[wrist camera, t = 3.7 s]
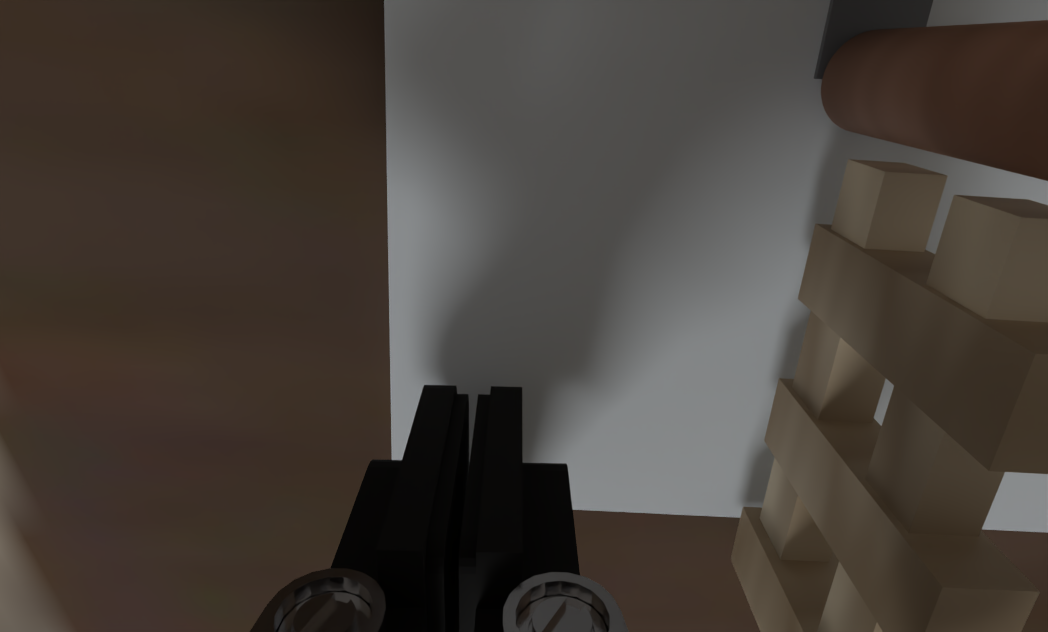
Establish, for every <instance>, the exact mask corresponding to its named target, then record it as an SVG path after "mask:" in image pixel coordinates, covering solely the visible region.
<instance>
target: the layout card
mask: <svg viewBox="0 0 1048 632" xmlns="http://www.w3.org/2000/svg"><path fill="white" fill-rule="evenodd" d="M1040 20H1048V0H384V26H385V85H386V144H387V204H388V263H389V322H390V381H391V440H392V460H402V458H403V455H404V451H405V448H406V444H407V441H408V438H409V434H410V431H411V427H412V424H413V420H414V417H415V413H416V410H417V407H418V403H419V400H420V396H421V393H422V389H423V386H424V385H456V387H457V394H468V395H469V463H470V455H471V447H472V439H473V431H474V423H475V415H476V407H477V399H478V394H488V395H490V390H491V386H503V387H522V456H523V463H566V464H567V467H568V474H569V483H570V492H571V501H572V509H573V510H594V511H615V512H635V513H656V514H677V515H697V516H718V517H739V518H740V517H741V513H742V508H743V507H760V508H762V506H763V502H764V498H765V494H766V490H767V486H768V482H769V478H770V474H771V470H772V466H773V462H774V458H775V457H774V456H773V454H772V452H771V451H770V449H769V448H768V446H767V444H766V443H765V441H764V439H765V435H766V430H767V426H768V422H769V418H770V413H771V409H772V405H773V401H774V396H775V392H776V388H777V384H778V380H779V378H784V379H794V376H795V372H796V368H797V364H798V360H799V356H800V352H801V348H802V344H803V340H804V336H805V332H806V328H807V324H808V320H809V316H810V312H811V310H810V309H809V308H807V307H806V306H805V305H804V304H803V303H802V302H801V301H800V300H799V299H798V295H799V291H800V287H801V282H802V278H803V274H804V270H805V265H806V261H807V257H808V253H809V248H810V244H811V240H812V236H813V232H814V227H815V224H830V225H832V222H833V218H834V214H835V210H836V206H837V202H838V198H839V194H840V190H841V186H842V182H843V178H844V174H845V170H846V165H847V161H848V159H853V160H868V161H884V162H900V163H907V164H910V165H914V166H917V167H920V168H924V169H927V170H931V171H934V172H937V173H941V174H944V175H947V176H948V177H947V180H946V183H945V187H944V190H943V193H942V196H941V200H940V203H939V206H938V209H937V213H936V216H935V219H934V222H933V226H932V229H931V232H930V236H929V239H928V242H927V245H926V249H925V250H927V251H929V252H931V253H933V254H936V250H937V247H938V244H939V241H940V238H941V234H942V231H943V228H944V225H945V222H946V219H947V215H948V212H949V209H950V206H951V203H952V199H953V196H954V195H966V196H982V197H998V198H1014V199H1029V200H1032V201H1035V202H1039V203H1042V204H1045V205H1048V181H1045V180H1041V179H1037V178H1033V177H1029V176H1025V175H1021V174H1017V173H1013V172H1009V171H1005V170H1001V169H997V168H993V167H989V166H985V165H981V164H977V163H973V162H969V161H965V160H961V159H957V158H953V157H949V156H945V155H941V154H937V153H933V152H929V151H925V150H921V149H917V148H913V147H909V146H905V145H901V144H897V143H893V142H889V141H885V140H881V139H877V138H873V137H869V136H865V135H861V134H857V133H853V132H850V131H846V130H844V129H842V128H840V127H839V126H837V125H836V124H835V123H833V122H832V121H831V119H830V118H829V117H828V115H827V114H826V112H825V110H824V107H823V104H822V99H821V84H822V78H823V75H824V72H825V69H826V67H827V65H828V63H829V61H830V59H831V58H832V57H833V55H834V54H835V53H836V51H837V50H838V49H839V48H840V47H841V46H842V45H843V44H844V43H846V42H847V41H848V40H850V39H851V38H853V37H855V36H856V35H859V34H861V33H863V32H867V31H870V30H878V29H896V28H914V27H932V26H950V25H968V24H986V23H1004V22H1022V21H1040ZM893 388H894V385H893V384H892V383H891V382H889V381H888V380H887V379H885V382H884V386H883V389H882V392H881V396H880V399H879V402H878V405H877V409H876V412H875V415H874V419H875V420H876V421H877V422H878V423H879V424H880V425H881V426H882V423H883V420H884V416H885V413H886V410H887V407H888V404H889V401H890V397H891V394H892V391H893ZM982 529H988V530H1008V531H1029V532H1048V474H1035V473H1015V472H1005V473H1004V476H1003V478H1002V481H1001V483H1000V486H999V488H998V491H997V493H996V495H995V498H994V500H993V503H992V505H991V508H990V510H989V513H988V515H987V517H986V520H985V522H984V525H983V527H982Z"/></svg>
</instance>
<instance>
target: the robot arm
mask: <svg viewBox="0 0 1048 632" xmlns="http://www.w3.org/2000/svg"><path fill="white" fill-rule="evenodd" d="M250 632H628V629H627V627H626V624H625V621H624V618H623V616H622V613H621V610H620V608H619V607H618V605H617V603H616V601H615V600H614V598H613V596H612V595H611V594H609V593H608V592H607V591H606V590H605V589H604V588H603V587H602V586H601V585H599V584H598V583H596V582H594V581H592V580H590V579H588V578H586V577H584V576H580V573H579V564H578V555H577V546H576V537H575V528H574V519H573V510H572V501H571V492H570V483H569V474H568V467H567V464H566V463H523V456H522V387H503V386H491V390H490V395H488V394H478V399H477V407H476V415H475V423H474V431H473V439H472V447H471V455H470V463H469V395H468V394H457V387H456V385H424V386H423V389H422V393H421V396H420V400H419V403H418V407H417V410H416V413H415V417H414V420H413V424H412V427H411V431H410V434H409V438H408V441H407V444H406V448H405V451H404V455H403V458H402V460H372V461H371V462H370V464H369V466H368V468H367V471H366V473H365V476H364V479H363V481H362V484H361V487H360V490H359V492H358V495H357V498H356V501H355V503H354V506H353V509H352V511H351V514H350V517H349V520H348V522H347V525H346V528H345V531H344V533H343V536H342V539H341V541H340V544H339V547H338V550H337V552H336V555H335V558H334V560H333V563H332V566H331V568H330V569H325V570H320V571H315V572H311V573H309V574H307V575H304V576H302V577H300V578H298V579H295V580H294V581H292V582H291V583H289V584H288V585H287V586H285V587H284V588H282V589H281V590H280V591H279V592H278V593H277V594H276V595H275V596H274V597H273V599H272V600H271V601H270V602H269V603H268V604H267V606H266V607H265V609H264V610H263V612H262V613H261V615H260V617H259V618H258V620H257V621H256V623H255V624H254V626H253V627H252V629H251V630H250Z"/></svg>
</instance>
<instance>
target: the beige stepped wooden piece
mask: <svg viewBox="0 0 1048 632" xmlns="http://www.w3.org/2000/svg"><path fill="white" fill-rule="evenodd" d="M821 99H822V104H823V107H824V110H825V112H826V114H827V115H828V117H829V118H830V119H831V121H832V122H833V123H835V124H836V125H837V126H839V127H840V128H842V129H844V130H846V131H850V132H853V133H857V134H861V135H865V136H869V137H873V138H877V139H881V140H885V141H889V142H893V143H897V144H901V145H905V146H909V147H913V148H917V149H921V150H925V151H929V152H933V153H937V154H941V155H945V156H949V157H953V158H957V159H961V160H965V161H969V162H973V163H977V164H981V165H985V166H989V167H993V168H997V169H1001V170H1005V171H1009V172H1013V173H1017V174H1021V175H1025V176H1029V177H1033V178H1037V179H1041V180H1045V181H1048V20H1040V21H1022V22H1004V23H986V24H968V25H950V26H932V27H914V28H896V29H878V30H870V31H867V32H863V33H861V34H859V35H856V36H855V37H853V38H851V39H850V40H848V41H847V42H846V43H844V44H843V45H842V46H841V47H840V48H839V49H838V50H837V51H836V53H835V54H834V55H833V57H832V58H831V59H830V61H829V63H828V65H827V67H826V69H825V72H824V75H823V78H822V84H821ZM947 177H948V176H947V175H944V174H941V173H937V172H934V171H931V170H927V169H924V168H920V167H917V166H914V165H910V164H907V163H900V162H884V161H868V160H853V159H848V161H847V165H846V170H845V174H844V178H843V182H842V186H841V190H840V194H839V198H838V202H837V206H836V210H835V214H834V218H833V222H832V225H830V224H815V227H814V232H813V236H812V240H811V244H810V248H809V253H808V257H807V261H806V265H805V270H804V274H803V278H802V282H801V287H800V291H799V295H798V299H799V300H800V301H801V302H802V303H803V304H804V305H805V306H806V307H807V308H809V309H810V310H811V312H810V316H809V320H808V324H807V328H806V332H805V336H804V340H803V344H802V348H801V352H800V356H799V360H798V364H797V368H796V372H795V376H794V379H784V378H779V380H778V384H777V388H776V392H775V396H774V401H773V405H772V409H771V413H770V418H769V422H768V426H767V430H766V435H765V439H764V441H765V443H766V444H767V446H768V448H769V449H770V451H771V452H772V454H773V456H774V457H775V458H774V462H773V466H772V470H771V474H770V478H769V482H768V486H767V490H766V494H765V498H764V502H763V506H762V508H760V507H743V508H742V513H741V517H740V521H739V525H738V530H737V534H736V538H735V543H734V547H733V551H732V556H731V561H732V563H733V566H734V568H735V571H736V573H737V576H738V578H739V580H740V583H741V585H742V588H743V590H744V593H745V595H746V597H747V600H748V602H749V605H750V607H751V610H752V612H753V614H754V617H755V619H756V622H757V624H758V627H759V629H760V632H1021V631H1022V629H1023V627H1024V624H1025V622H1026V620H1027V618H1028V616H1029V614H1030V612H1031V610H1032V608H1033V605H1034V603H1035V601H1036V599H1037V597H1038V595H1039V593H1040V591H1039V590H1038V589H1037V588H1036V587H1035V586H1034V585H1033V584H1032V583H1031V582H1030V581H1029V580H1028V579H1027V578H1026V577H1025V576H1024V575H1023V574H1022V573H1021V572H1020V571H1019V569H1018V568H1017V567H1016V566H1015V565H1014V564H1013V563H1012V562H1011V561H1010V560H1009V559H1008V558H1007V557H1006V556H1005V555H1004V554H1003V553H1002V552H1001V551H1000V550H999V549H998V548H997V546H996V545H995V544H994V543H993V542H992V541H991V540H990V539H989V538H988V537H987V536H986V535H985V534H984V533H983V532H982V531H981V530H982V527H983V525H984V522H985V520H986V517H987V515H988V513H989V510H990V508H991V505H992V503H993V500H994V498H995V495H996V493H997V491H998V488H999V486H1000V483H1001V481H1002V478H1003V476H1004V473H1005V472H1015V473H1035V474H1048V205H1045V204H1042V203H1039V202H1035V201H1032V200H1029V199H1014V198H998V197H982V196H966V195H954V196H953V199H952V203H951V206H950V209H949V212H948V215H947V219H946V222H945V225H944V228H943V231H942V234H941V238H940V241H939V244H938V247H937V250H936V254H933V253H931V252H929V251H927V250H925V249H926V245H927V242H928V239H929V236H930V232H931V229H932V226H933V222H934V219H935V216H936V213H937V209H938V206H939V203H940V200H941V196H942V193H943V190H944V187H945V183H946V180H947ZM885 379H887V380H888V381H889V382H891V383H892V384H893V385H894V388H893V391H892V394H891V397H890V401H889V404H888V407H887V410H886V413H885V416H884V420H883V423H882V426H881V425H880V424H879V423H878V422H877V421H876V420H875V419H874V415H875V412H876V409H877V405H878V402H879V399H880V396H881V392H882V389H883V386H884V382H885Z"/></svg>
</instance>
